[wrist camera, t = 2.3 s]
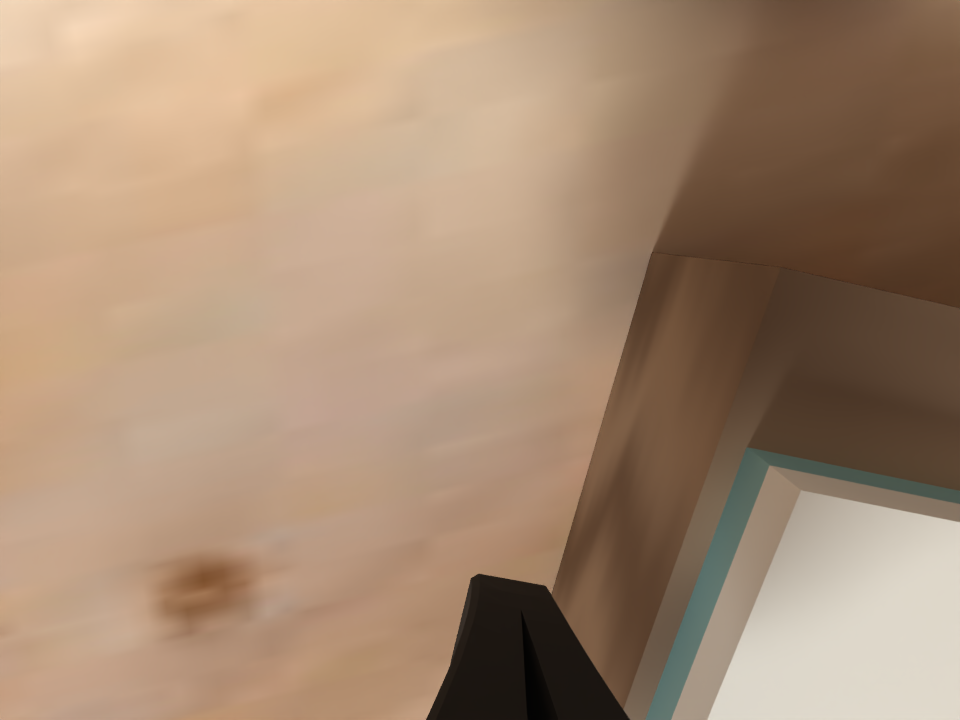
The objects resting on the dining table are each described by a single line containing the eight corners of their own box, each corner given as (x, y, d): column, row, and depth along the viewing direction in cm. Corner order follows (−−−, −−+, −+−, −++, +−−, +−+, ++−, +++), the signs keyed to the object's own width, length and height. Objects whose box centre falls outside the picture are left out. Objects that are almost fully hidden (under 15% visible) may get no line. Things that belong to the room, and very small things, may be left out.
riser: (862, 725, 18) (1050, 964, 12) (530, 667, 17) (558, 891, 11) (1054, 343, 14) (1443, 418, 9) (652, 252, 14) (781, 266, 8)
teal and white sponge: (841, 830, 11) (897, 923, 9) (617, 795, 11) (639, 884, 9) (1013, 501, 9) (1117, 553, 8) (746, 446, 9) (801, 490, 7)
